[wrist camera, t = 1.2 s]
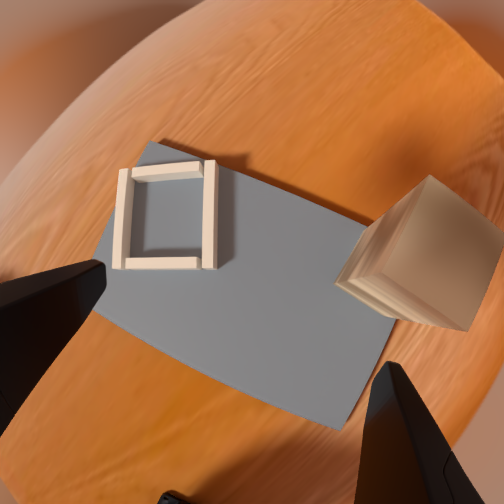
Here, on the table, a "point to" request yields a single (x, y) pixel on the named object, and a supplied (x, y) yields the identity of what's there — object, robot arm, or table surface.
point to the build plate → (248, 291)
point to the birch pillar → (425, 259)
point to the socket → (125, 207)
